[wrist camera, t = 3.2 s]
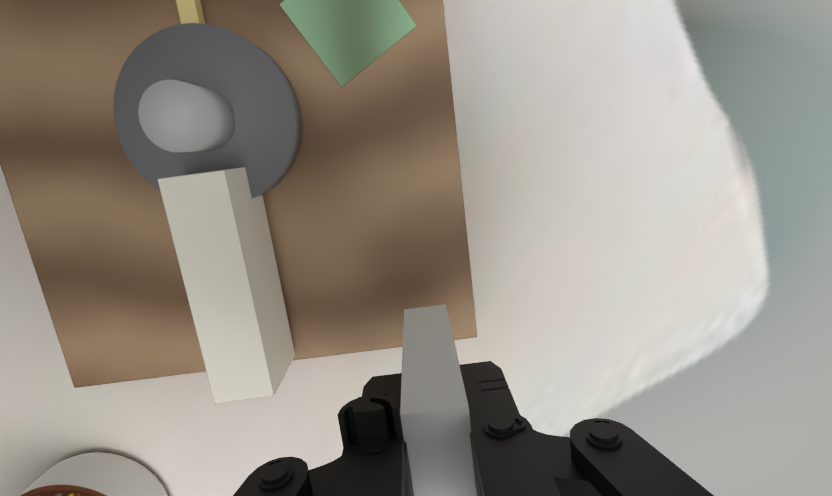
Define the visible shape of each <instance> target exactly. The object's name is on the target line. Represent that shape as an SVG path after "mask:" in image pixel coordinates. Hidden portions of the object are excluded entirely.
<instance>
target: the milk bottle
mask: <svg viewBox="0 0 832 496" xmlns="http://www.w3.org/2000/svg"><path fill="white" fill-rule="evenodd" d="M19 496H168V495H167V493H166V491H165V489H164V487H163V485H162V484H161V483H160V481H159V480H158V479H157V478H156V476H155V475H154V474H152V473H151V472H150V471H149V470H148V469H147V468H145V467H144V466H142V465H140V464H139V463H137V462H136V461H134V460H131V459H128V458H126V457H124V456H120V455H116V454H112V453H101V452H93V453H83V454H80V455H77V456H73V457H70V458H67V459H65V460H63V461H60V462H58V463H57V464H55V465H53V466H52V467H51V468H49V469H48V470H47V471H46V472H45V473H44V474H42V475H41V476H40V477H39V478H38V479H37V480H35V481H34V482H33V483H32V484H31V485H30V486H29V487H28V488H27V489H25V490H24V491H23V492H22V493H21V494H20V495H19Z"/></svg>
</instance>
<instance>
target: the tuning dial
mask: <svg viewBox="0 0 832 496" xmlns="http://www.w3.org/2000/svg"><path fill="white" fill-rule="evenodd" d="M176 3H177V7H178V12H179V16H180V21H181V24H179V25H174V26H170V27H168V28H165V29H162V30H159V31H158V32H156V33H154V34H152V35H150V36H149V37H148V38H146V39H145V40H144V41H142V42H141V43H140V44H139V45H138V46H137V47H136V48H135V49H134V50H133V51H132V52H131V54H130V55H129V57H128V58H127V59H126V61H125V63H124V65H123V67H122V69H121V70H120V73H119V76H118V79H117V82H116V86H115V91H114V100H113V112H114V121H115V126H116V131H117V134H118V137H119V140H120V143H121V145H122V147H123V149H124V152H125V154H126V155H127V157H128V159H129V160H130V162H131V163H132V165H133V166H134V167H135V169H136V170H137V171H138V172H139V174H140V175H141V176H142V177H143V178H144V179H145V180H146V181H147V182H148V183H149V184H151V185H152V186H153V187H155V188H156V189H157V190H158V191H160V192H161V195H162V199H163V203H164V206H165V210H166V214H167V218H168V222H169V226H170V230H171V234H172V238H173V242H174V246H175V250H176V254H177V257H178V261H179V265H180V269H181V273H182V277H183V281H184V285H185V289H186V293H187V297H188V301H189V305H190V308H191V312H192V316H193V320H194V324H195V328H196V332H197V336H198V340H199V344H200V348H201V352H202V356H203V359H204V363H205V367H206V371H207V375H208V379H209V383H210V387H211V391H212V395H213V399H214V403H220V402H228V401H236V400H244V399H252V398H260V397H268V396H274V394H275V392H276V391H277V389H278V387H279V385H280V383H281V381H282V379H283V377H284V375H285V373H286V371H287V369H288V367H289V366H290V364H291V362H292V360H293V358H294V356H295V352H294V347H293V342H292V337H291V333H290V328H289V323H288V318H287V313H286V308H285V303H284V298H283V293H282V288H281V284H280V279H279V274H278V269H277V264H276V259H275V254H274V249H273V244H272V239H271V234H270V230H269V225H268V220H267V215H266V210H265V205H264V200H263V194H265V193H266V192H268V191H269V190H271V189H272V188H273V187H275V186H276V185H277V184H278V183H279V182H280V181H281V180H282V179H283V178H284V176H285V175H286V174H287V173H288V171H289V169H290V168H291V166H292V164H293V162H294V160H295V158H296V156H297V153H298V149H299V146H300V141H301V134H302V119H301V110H300V106H299V102H298V99H297V96H296V93H295V91H294V88H293V86H292V84H291V82H290V80H289V78H288V77H287V75H286V74H285V73H284V71H283V70H282V68H281V67H280V66H279V65H278V64H277V63H276V61H275V60H274V59H273V58H272V57H271V56H269V55H268V54H267V53H266V52H265V51H263V50H262V49H261V48H259V47H258V46H256V45H255V44H253V43H252V42H250V41H248V40H247V39H245V38H244V37H242V36H240V35H238V34H236V33H234V32H232V31H230V30H227V29H224V28H222V27H218V26H214V25H209V24H205V20H204V16H203V11H202V6H201V2H200V0H176Z"/></svg>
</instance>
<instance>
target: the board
mask: <svg viewBox="0 0 832 496" xmlns="http://www.w3.org/2000/svg"><path fill="white" fill-rule="evenodd" d="M200 2H201V6H202V11H203V16H204V20H205V24H209V25H214V26H218V27H222V28H224V29H227V30H230V31H232V32H234V33H236V34H238V35H240V36H242V37H244V38H245V39H247V40H248V41H250V42H252V43H253V44H255V45H256V46H258V47H259V48H261V49H262V50H263V51H265V52H266V53H267V54H268V55H269V56H271V57H272V58H273V59H274V60H275V61H276V63H277V64H278V65H279V66H280V67H281V68H282V70H283V71H284V73H285V74H286V75H287V77H288V78H289V80H290V82H291V84H292V86H293V88H294V91H295V93H296V96H297V99H298V102H299V106H300V110H301V119H302V134H301V141H300V146H299V149H298V153H297V156H296V158H295V160H294V162H293V164H292V166H291V168H290V169H289V171H288V173H287V174H286V175H285V176H284V178H283V179H282V180H281V181H280V182H279V183H278V184H277V185H276V186H275V187H273V188H272V189H271V190H269V191H268V192H266V193H265V194H263V200H264V205H265V210H266V215H267V220H268V225H269V230H270V234H271V239H272V244H273V249H274V254H275V259H276V264H277V269H278V274H279V279H280V284H281V288H282V293H283V298H284V303H285V308H286V313H287V318H288V323H289V328H290V333H291V337H292V342H293V347H294V352H295V356H294V358H293V360H299V359H307V358H315V357H323V356H331V355H339V354H347V353H355V352H363V351H371V350H379V349H387V348H395V347H403V327H404V309H412V308H420V307H428V306H436V305H444V304H446V308H447V312H448V317H449V321H450V326H451V330H452V334H453V339H454V340H458V339H466V338H474V337H477V329H476V319H475V309H474V300H473V290H472V280H471V270H470V261H469V251H468V241H467V231H466V222H465V212H464V202H463V192H462V183H461V173H460V163H459V153H458V144H457V134H456V124H455V114H454V105H453V95H452V85H451V75H450V66H449V56H448V46H447V36H446V27H445V17H444V7H443V0H200ZM179 24H181V21H180V16H179V12H178V7H177V3H176V0H0V164H1V167H2V170H3V173H4V176H5V179H6V182H7V185H8V188H9V191H10V194H11V197H12V201H13V204H14V207H15V210H16V213H17V216H18V219H19V222H20V225H21V228H22V231H23V234H24V237H25V240H26V243H27V246H28V249H29V252H30V255H31V258H32V261H33V264H34V267H35V270H36V273H37V276H38V279H39V282H40V285H41V288H42V291H43V294H44V297H45V300H46V303H47V306H48V309H49V312H50V315H51V318H52V321H53V324H54V327H55V330H56V333H57V336H58V339H59V342H60V345H61V348H62V351H63V354H64V357H65V360H66V363H67V367H68V370H69V373H70V376H71V379H72V382H73V385H74V388H77V387H85V386H93V385H101V384H109V383H117V382H124V381H132V380H140V379H148V378H156V377H164V376H172V375H180V374H188V373H196V372H204V371H206V367H205V363H204V359H203V356H202V352H201V348H200V344H199V340H198V336H197V332H196V328H195V324H194V320H193V316H192V312H191V308H190V305H189V301H188V297H187V293H186V289H185V285H184V281H183V277H182V273H181V269H180V265H179V261H178V257H177V254H176V250H175V246H174V242H173V238H172V234H171V230H170V226H169V222H168V218H167V214H166V210H165V206H164V203H163V199H162V195H161V192H160V191H158V190H157V189H156V188H155V187H153V186H152V185H151V184H149V183H148V182H147V181H146V180H145V179H144V178H143V177H142V176H141V175H140V174H139V172H138V171H137V170H136V169H135V167H134V166H133V165H132V163H131V162H130V160H129V159H128V157H127V155H126V154H125V152H124V149H123V147H122V145H121V143H120V140H119V137H118V134H117V131H116V126H115V121H114V112H113V100H114V91H115V86H116V82H117V79H118V76H119V73H120V70H121V69H122V67H123V65H124V63H125V61H126V59H127V58H128V57H129V55H130V54H131V52H132V51H133V50H134V49H135V48H136V47H137V46H138V45H139V44H140V43H141V42H142V41H144V40H145V39H146V38H148V37H149V36H150V35H152V34H154V33H156V32H158V31H159V30H162V29H165V28H168V27H170V26H174V25H179Z"/></svg>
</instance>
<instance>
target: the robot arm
mask: <svg viewBox="0 0 832 496" xmlns="http://www.w3.org/2000/svg"><path fill="white" fill-rule="evenodd" d="M338 420H339V425H340V431H341V436H342V442H343V447H344V448H343V453H342V456H341V457H339V458H338V459H336V460H334V461H333V462H330V463H328V464H326V465H323V466H320V467H317V468H314V469H312V470H309V471H308V466H307V463H305V462H304V461H303V460H302V459H300V458H295V457H283V458H278V459H275V460H272V461H269V462H267V463H265V464H264V465H262V466H260V467H258V468H257V469H256V470H255V471H254V472H253V473H252V474H250V475H249V476H248V478H247V479H246V480H245V481H244V483H243V484H242V485H241V486H240V488H239V489H238V490H237V491H236V493H235V494H234V495H233V496H713V495H712V494H711V493H710V492H708V491H707V490H706V489H705V488H704V487H702V486H701V485H700V484H699V483H697V482H696V481H695V480H694V479H692V478H691V477H690V476H689V475H687V474H686V473H685V472H683V471H682V470H681V469H680V468H679V467H677V466H676V465H675V464H674V463H673V462H671V461H670V460H669V459H668V458H666V457H665V456H664V455H663V454H661V453H660V452H659V451H658V450H656V449H655V448H654V447H653V446H651V445H650V444H649V443H648V442H647V441H645V440H644V439H643V438H642V437H640V436H639V435H638V434H637V433H635V432H634V431H633V430H631V429H630V428H628V427H627V426H625V425H623V424H622V423H619V422H616V421H612V420H609V419H598V418H595V419H588V420H583V421H581V422H579V423H577V424H575V425H574V427H573V428H572V429H571V430H570V437H560V436H552V435H546V434H543V433H540V432H537V431H535V430H533V429H532V426H531V424H530V423H529V422H528V421H527V419H526V418H524V417H522V416H520V414H519V412H518V409H517V407H516V404H515V402H514V399H513V397H512V394H511V392H510V389H509V388H508V385H507V382H506V380H505V377H504V375H503V372H502V370H501V368H499V367H498V366H497V365H495V364H494V363H492V362H491V361H488V362H480V363H472V364H463V365H459V361H458V357H457V352H456V348H455V343H454V339H453V334H452V330H451V326H450V321H449V317H448V312H447V308H446V304H444V305H436V306H428V307H420V308H412V309H404V327H403V354H402V373H400V374H392V375H384V376H375V377H372V378H371V379H370V380H369V381H368V382H367V384H366V385H365V386H364V388H363V393H362V397H359V398H357V399H355V400H352V401H350V402H348V403H347V404H346V405H345V406H343V407H342V408H341V410H340V411H339V413H338Z"/></svg>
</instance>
